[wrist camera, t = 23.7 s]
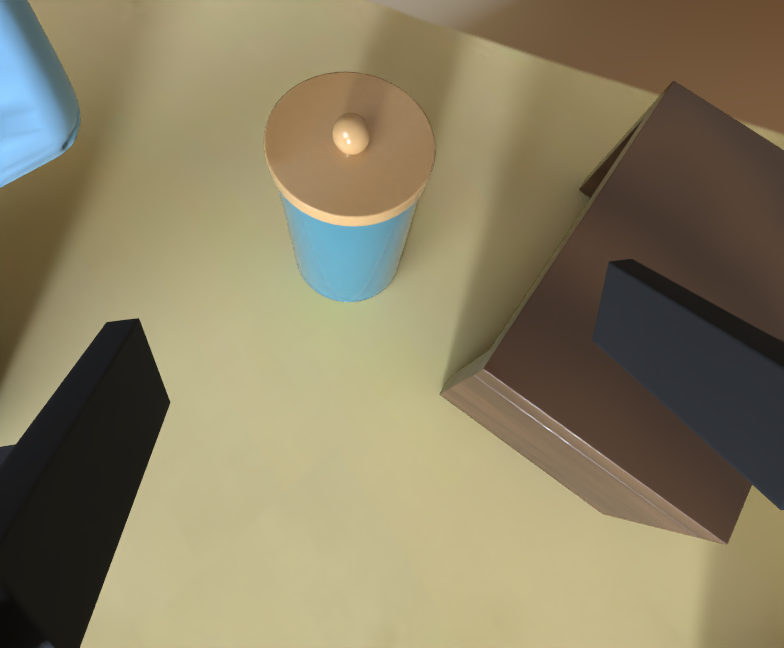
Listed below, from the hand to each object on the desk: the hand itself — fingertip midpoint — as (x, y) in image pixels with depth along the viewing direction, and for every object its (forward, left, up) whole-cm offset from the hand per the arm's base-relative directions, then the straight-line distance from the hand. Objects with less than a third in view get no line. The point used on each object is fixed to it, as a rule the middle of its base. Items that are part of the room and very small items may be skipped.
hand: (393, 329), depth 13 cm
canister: (-5, +8, -15) cm, 18 cm away
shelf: (+12, +11, -15) cm, 22 cm away
